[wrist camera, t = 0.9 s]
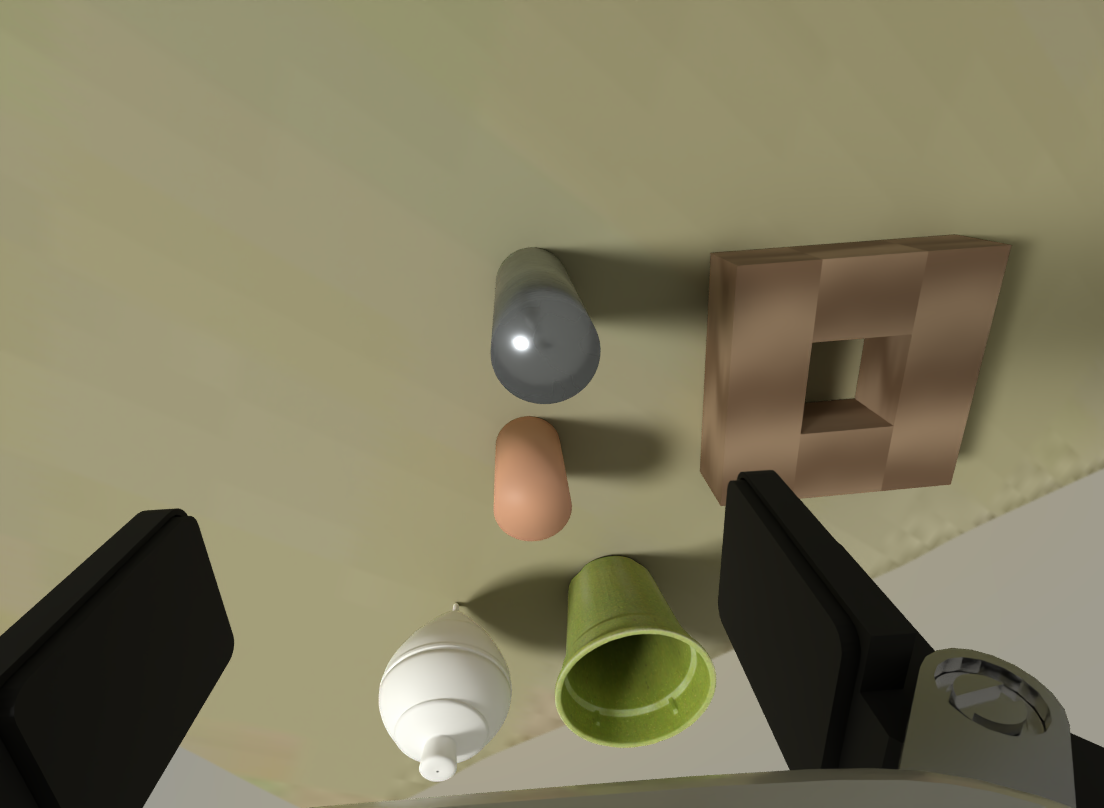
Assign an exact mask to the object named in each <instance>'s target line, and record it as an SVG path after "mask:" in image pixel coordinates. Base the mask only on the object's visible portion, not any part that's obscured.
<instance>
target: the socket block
mask: <svg viewBox="0 0 1104 808" xmlns="http://www.w3.org/2000/svg"><path fill="white" fill-rule="evenodd" d="M1010 249H1011V245H1009V244H1004V243H998V242H993V241H987V240H982V239H977V238H971V237H966V236H960V235H942V236H928V237H915V238H902V239H888V240H875V241H862V242H849V243H835V244H822V245H809V246H795V247H782V248H769V249H755V250H742V251H729V252H715V253H711V258H710V279H709V299H708V319H707V340H706V360H705V380H704V400H703V421H702V441H701V461H700V472H701V474H702V476H703V477H704V479H705V481H706V482H707V484H708V486H709V487H710V489H711V491H712V492H713V494H714V496H715V497H716V499H717V500H718V502H719V504H720V505H721V506H726V496H727V486H728V483H729V482H730V481H731V480H737V477H738V474H739V473H740V472H746V471H761V470H774V471H775V472H776V473H777V474H778V475H779V476H780V477H781V478H782V480H783V481H784V482H785V483H786V484H787V485H788V486H789V488H790V489H791V490H792V491H793V492H794V493H795V494H796V496H797V497H798V498H799V499H801V498H811V497H822V496H833V495H843V494H854V493H865V492H875V491H886V490H896V489H907V488H918V487H928V486H939V485H950V484H951V481H952V477H953V474H954V470H955V466H956V462H957V458H958V454H959V450H960V446H961V442H962V438H963V434H964V430H965V426H966V422H967V418H968V415H969V411H970V407H971V403H972V399H973V395H974V391H975V387H976V383H977V379H978V375H979V371H980V367H981V363H982V359H983V356H984V352H985V348H986V344H987V340H988V336H989V332H990V328H991V324H992V320H993V316H994V312H995V308H996V304H997V301H998V297H999V293H1000V289H1001V285H1002V281H1003V277H1004V273H1005V269H1006V265H1007V261H1008V257H1009V253H1010ZM862 338H865V339H864V345H863V352H862V358H861V364H860V370H859V376H858V382H857V388H856V394H855V399H844V400H832V401H821V402H809V403H805V395H806V387H807V379H808V372H809V364H810V356H811V348H812V343H813V342H825V341H837V340H849V339H862Z"/></svg>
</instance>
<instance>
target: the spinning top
mask: <svg viewBox="0 0 1104 808" xmlns="http://www.w3.org/2000/svg"><path fill="white" fill-rule="evenodd" d="M458 608H459V604H457V603H455V604H454V605H453V611H450V612H447V613H444V614H442V615H440V616H438V617H437V618H435V619H433V620H432V621H430V622H429V623H427V624H426V625H424V626H422V627H421V628H419V629H418V630H417V631H416V632H415V633H414V634H413V635H412V636H411V637H409V638H408V639H407V640H406V641H405V642H404V643H403V645H402V646H401V647H400V648H399V649H398V650H397V651H396V653H395V654H394V655H393V657H392V658H391V660H390V661H389V663H388V665H387V667H386V669H385V672H384V675H383V677H382V680H381V684H380V690H379V708H380V714H381V717H382V720H383V723H384V725H385V728H386V729H387V731H388V733H389V735H390V736H391V738H392V739H393V740H394V741H395V743H396V744H397V746H398V747H399V749H400V750H401V751H402V752H403V753H404V754H406V755H407V756H408V757H410V758H412V759H414V760H416V761H419V762H420V766H419V771H420V773H421V775H422V776H423V777H424V778H426V779H428V780H430V781H444V780H447V779H449V778H451V777H452V776H453V775H454V774H455V772H456V770H457V763H459V762H462V761H465V760H467V759H469V758H471V757H473V756H475V755H476V754H477V753H478V752H480V751H481V750H482V748H483V747H484V746H485V745H486V744H487V743H488V742H489V741H490V740H491V739H492V738H493V737H494V736H495V735H496V733H497V732H498V731H499V729H500V728H501V726H502V724H503V723H504V721H505V718H506V716H507V713H508V710H509V707H510V702H511V695H512V685H511V678H510V673H509V669H508V666H507V663H506V661H505V659H504V657H503V655H502V653H501V652H500V650H499V649H498V647H497V646H496V644H495V643H494V641H493V640H492V639H491V637H490V636H489V635H488V633H487V632H486V631H485V630H483V629H482V628H481V627H480V626H479V625H478V624H477V623H476V622H475V621H473V620H472V619H471V618H470V617H468V616H467V615H465V614H463V613H462V612H459V611H458Z"/></svg>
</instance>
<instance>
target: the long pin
mask: <svg viewBox="0 0 1104 808" xmlns="http://www.w3.org/2000/svg"><path fill="white" fill-rule="evenodd" d="M599 360H600V341H599V337H598V334H597V331H596V329H595V327H594V325H593V323H592V321H591V319H590V317H589V315H588V313H587V311H586V309H585V307H584V305H583V303H582V301H581V299H580V297H579V295H578V293H577V291H576V290H575V288H574V286H573V284H572V282H571V280H570V278H569V276H568V274H567V272H566V270H565V268H564V266H563V264H562V263H561V262H560V260H559V259H558V258H557V257H556V256H555V255H553V254H552V253H550V252H549V251H546V250H544V249H540V248H524V249H520V250H518V251H516V252H514V253H512V254H511V255H510V256H508V257H507V258H506V259H505V260H504V262H503V263H502V264H501V266H500V268H499V270H498V273H497V277H496V288H495V301H494V314H493V328H492V341H491V361H492V366H493V369H494V372H495V374H496V376H497V378H498V379H499V381H500V382H501V384H502V385H503V386H504V387H505V388H506V389H507V390H508V391H509V392H510V393H512V394H513V395H515V396H516V397H518V398H520V399H522V400H525V401H528V402H532V403H537V404H551V403H557V402H561V401H564V400H567V399H569V398H571V397H573V396H575V395H576V394H577V393H579V392H580V391H581V390H583V389H584V388H585V387H586V386H587V384H588V383H589V382H590V381H591V379H592V378H593V376H594V374H595V372H596V370H597V367H598V364H599Z"/></svg>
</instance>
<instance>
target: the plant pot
mask: <svg viewBox="0 0 1104 808" xmlns="http://www.w3.org/2000/svg"><path fill="white" fill-rule="evenodd" d="M715 688H716V672H715V668H714V665H713V663H712V661H711V659H710V657H709V655H708V653H707V652H706V650H705V649H704V648H703V647H702V646H701V645H700V644H699V643H698V642H697V641H696V640H694V639H693V638H691V637H690V635H689V634H688V633H687V632H686V631H685V630H684V629H682V628H681V626H680V624H679V623H678V621H677V619H676V618H675V616H674V614H673V613H672V611H671V609H670V607H669V606H668V604H667V602H666V601H665V599H664V597H663V595H662V594H661V592H660V590H659V588H658V587H657V585H656V583H655V581H654V580H653V578H652V576H651V575H650V573H649V571H648V570H647V569H646V568H645V567H643V566H642V565H640V564H638V563H637V562H635V561H634V560H632V559H630V558H627V557H622V556H608V557H603V558H599V559H596V560H594V561H592V562H590V563H588V564H586V565H585V567H584V568H583V569H582V570H581V571H580V572H579V573H578V574H577V575H576V576H575V577H574V578H573V579H572V580H571V582H570V585H569V589H568V615H567V641H566V657H565V659H564V662H563V666H562V670H561V672H560V674H559V676H558V679H557V683H556V688H555V703H556V708H557V711H558V714H559V716H560V718H561V719H562V721H563V722H564V723H565V724H566V726H567V727H568V728H569V729H570V730H571V731H572V732H574V733H575V734H576V735H578V736H579V737H581V738H583V739H585V740H587V741H589V742H592V743H595V744H599V745H605V746H611V747H618V748H631V747H638V746H646V745H650V744H655V743H657V742H659V741H663V740H666V739H668V738H671V737H673V736H675V735H677V734H678V733H680V732H682V731H683V730H684V729H686V728H687V727H689V726H690V725H692V724H693V723H694V722H695V721H696V720H697V719H698V718H699V717H700V716H701V715H702V714H703V713H704V712H705V710H706V709H707V707H708V705H709V704H710V702H711V700H712V698H713V695H714V692H715Z"/></svg>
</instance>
